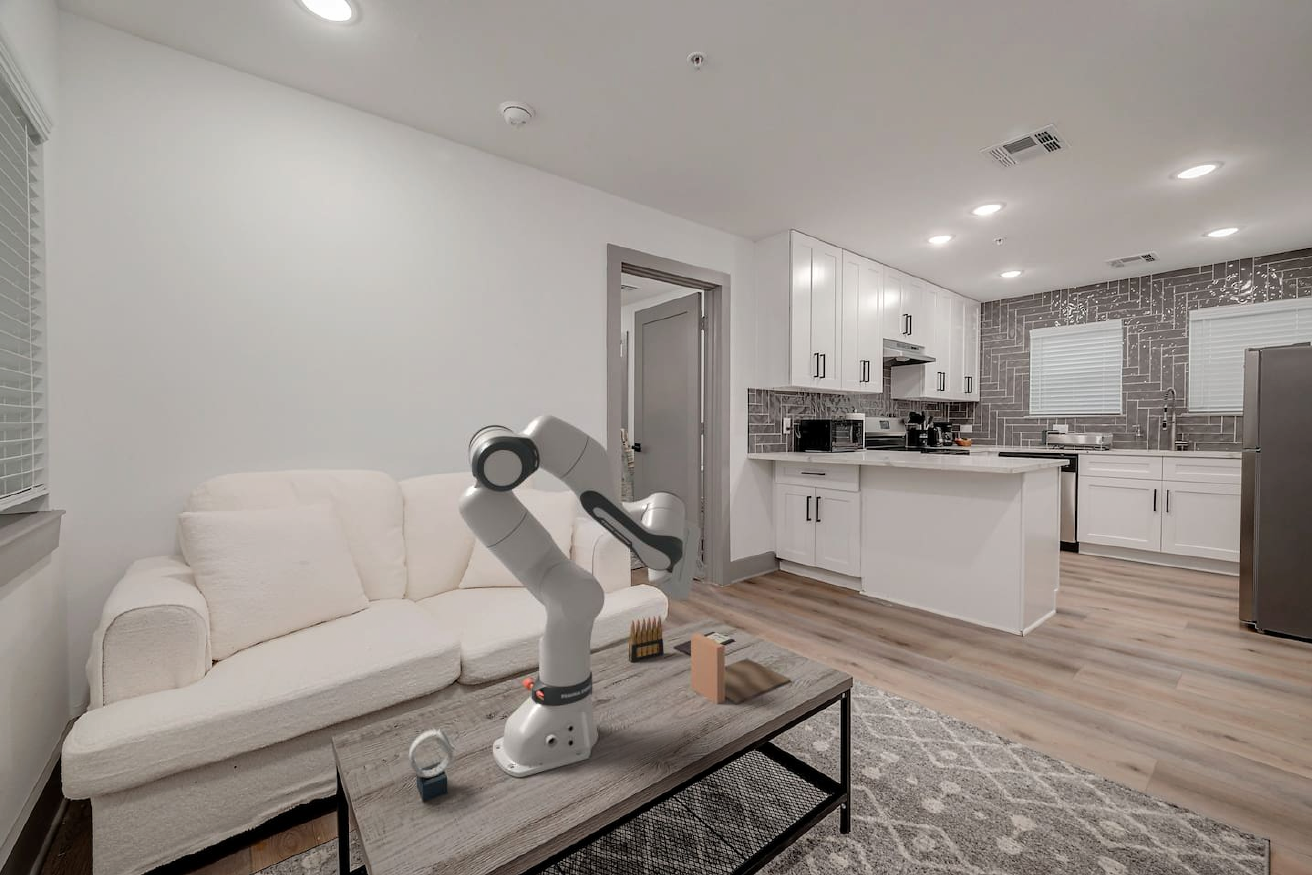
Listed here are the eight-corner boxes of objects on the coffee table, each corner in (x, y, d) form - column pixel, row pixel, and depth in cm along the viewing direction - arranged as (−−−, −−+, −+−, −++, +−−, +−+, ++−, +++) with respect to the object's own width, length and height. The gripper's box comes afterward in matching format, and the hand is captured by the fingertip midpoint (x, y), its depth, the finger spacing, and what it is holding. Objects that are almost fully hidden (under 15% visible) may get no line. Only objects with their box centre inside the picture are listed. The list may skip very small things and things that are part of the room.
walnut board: (736, 704, 135) (736, 701, 135) (694, 679, 148) (694, 677, 148) (790, 681, 147) (790, 679, 147) (747, 660, 160) (747, 658, 160)
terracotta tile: (717, 704, 135) (717, 648, 135) (691, 688, 143) (691, 635, 143) (725, 700, 137) (725, 645, 136) (699, 685, 145) (698, 632, 144)
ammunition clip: (660, 652, 165) (660, 613, 165) (663, 655, 163) (663, 615, 163) (628, 660, 160) (628, 619, 160) (631, 662, 158) (631, 621, 158)
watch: (458, 789, 104) (457, 732, 104) (412, 806, 100) (411, 746, 99) (450, 773, 109) (449, 719, 108) (406, 789, 104) (405, 732, 104)
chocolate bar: (673, 646, 168) (713, 631, 180) (673, 649, 168) (713, 634, 180) (694, 655, 162) (734, 639, 174) (694, 659, 162) (734, 642, 174)
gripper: (663, 515, 142) (702, 540, 147) (647, 587, 129) (690, 612, 134) (680, 508, 138) (718, 533, 143) (664, 581, 125) (708, 607, 130)
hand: (704, 572), depth 139 cm, fingers closed
